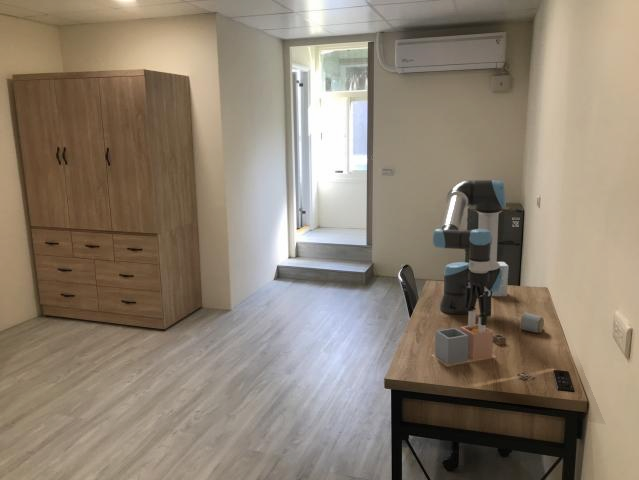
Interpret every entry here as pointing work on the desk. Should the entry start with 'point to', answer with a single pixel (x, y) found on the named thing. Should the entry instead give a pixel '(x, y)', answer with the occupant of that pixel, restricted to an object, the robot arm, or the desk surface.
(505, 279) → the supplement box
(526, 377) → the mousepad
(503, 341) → the stand
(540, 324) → the ceramic mug
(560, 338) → the desk surface
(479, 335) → the double square tube
